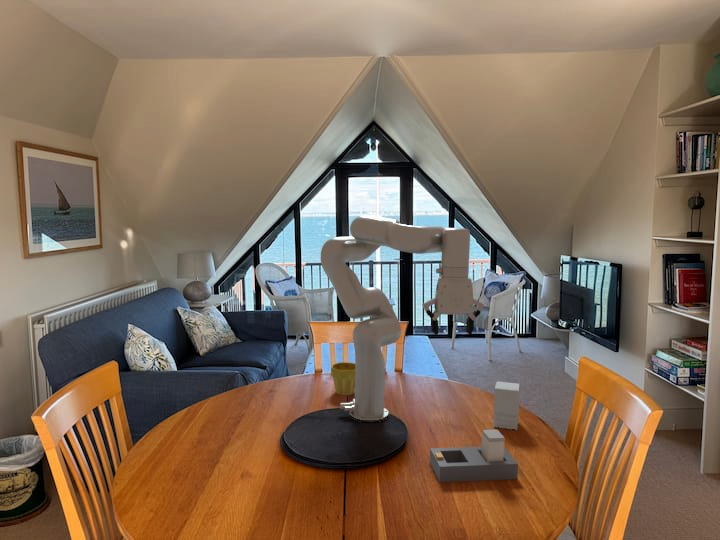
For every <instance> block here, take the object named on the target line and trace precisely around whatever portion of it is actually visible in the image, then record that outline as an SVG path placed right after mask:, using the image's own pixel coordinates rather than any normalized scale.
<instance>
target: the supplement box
mask: <svg viewBox="0 0 720 540" xmlns="http://www.w3.org/2000/svg"><path fill="white" fill-rule="evenodd" d="M493 397H494V401H493V402H494V403H493V428H498V427H499V429H505V428H506V430H512V429H515V430H514V431H518V428H519V427H518V426H519V414H520V413H519V411H520V383H516V382H515V383H514V382H505V381H496V383H495V386H494V395H493Z"/></svg>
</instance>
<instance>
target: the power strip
mask: <svg viewBox="0 0 720 540" xmlns="http://www.w3.org/2000/svg"><path fill="white" fill-rule="evenodd" d="M481 450H482V446H465V447H464V446H463V447H462V446H461V447H459V446H458V447H457V446H456V447H433V448H432V447H431V448H430V449H429V464H430V466H431V468H432V470H433V472H434V474H435V476H436V478H437V480H438V482H439V483H449V482H450V483H451V482H474V481H475V482H476V481H478V482H479V481H501V480H502V481H503V480H518V475H519V474H518V473H519V463H518V462H517V461H516V459H515V457H513V455H511V453H509V451H508V450H507V448H506V447H504V458H503V461H491V462H486V461H485V460H484V459H483V457H482V456H481Z"/></svg>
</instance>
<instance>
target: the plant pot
mask: <svg viewBox="0 0 720 540" xmlns="http://www.w3.org/2000/svg"><path fill="white" fill-rule="evenodd" d="M330 375H331V376H332V379H333V385H334V388H335V393H336V394H338V395H340V396H350V395H353V394H355V363H354V362H349V361H348V362H347V361H344V362H343V361H342V362H341V361H340V362H335V363H333V364H331V367H330Z"/></svg>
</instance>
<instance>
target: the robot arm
mask: <svg viewBox="0 0 720 540" xmlns="http://www.w3.org/2000/svg"><path fill="white" fill-rule="evenodd" d="M349 230H350V234H351V236H337V237H331V238H330V239H328V240H327V241H325V242H324V243H323V245H322V247H321V251H320V263H321V267H322V269H323V272H324V274H325V275H326V277H327V278H328V280H329V281H330V283H331V285H332V286H333V289H334V291H335V293H336V296H337V297H338V299H339V301H340V304H341V306H342V307H343V310H344V312H345V314H346V315H347V316H348V318H350V319H352V320H353V319H356V320H358V319H364V318H368V317H370V318H368V319H364V320H361V321H359V322H358V323H357V324H356V325H355V326H354V328H353V330H352V342H353V346H354V357H355V358H354V360H355V361H354V362H355V390H354V398H352V401H350V402H340V403H339V406H340V410H344V412H349V416H350V415H351V416H352V417H354V418H356V419H360V420H379V419H383V418H385V417H387V416H388V415H390V414H389V413H390V412H389V410H388V409H387V408H385V378H386V376H385V374H386V361H385V356H384V354H383V352H382V347H383V348H384V347H385V346H387V345H392V344H395V343H397V341H399V339H401V335H402V327H401V323H400V320H399V318H398V317H397V315H396V312H395V311H394V310H395V309H394V308H393V306H392V304H391V303H390V301H389V299H388V296H387V295H386V294H385V292H383V291H382V290H381V288H378V287H376V286H375V287H372V286H370V287H364V286H363V285H362V283H361V282H360V280H359V278H358V277H359V276H358V275H357V274H356V273H355V271H353V269H352V268H351V267H350V266H348V265H347V263H353V262H361V261H365V260H366V259H368V258H370V256H372V254H374V253H375V252H376V251H378V249H379V248H380V247H381V246H382V247H388V248H390V249H393V250H395V251H400V252H404V253H410V254H417V255H418V254H419V255H423V254H424V255H425V254H433V253H434V254H435V253H441V258H440V259H441V261H440V262H441V263H440V267H439V268H436V269H435V274H439V275H440V276H438V279H437V282H436V287H435V293H434V297H433V298H431V299H429V300H428V301H425V302H423V303H422V307H423V310H424V312H425V313H426V315H427V317H429V318H430V319H431V325H430V326H431V329H430V330H431V332H432V333H433V335H435V336H436V335H437V336H438V335H439V319H438V318H439V317H440V316H441V315H448V316H449V315H451V316H453V315H466V316H467V318H466V323H465V324H466V325H465V333H467V334H468V335H473V331H474V329H475V328H474V327H475V321H476V319H477V318H478V317H479V316H480V315H481V312H482V311H483V309H484V307H485V304H484V303H482V302H480V301H479V300H477V299H475V298H474V289H473V287H474V286H473V281H472V280H473V279H472V278H471V277H469V271H470V270H469V267H470V247H471V246H470V245H471V242H470V241H471V233H470V230H469V229H468V228H461V227H446V226H439V225H435V226H434V225H430V226H429V225H427V226H426V225H425V226H418V225H417V226H416V225H407V224H401V222H400V221H399V220H398V219H395V218H388V217H385V216H384V215H361V216H357V217H356V218H354V219H353V220H352V221H351V222H350V225H349ZM433 305H434V310H433V312H432V311H431V309H430V307H432V306H433ZM474 305H475V306H476V309H474ZM351 416H350V417H351ZM352 417H351V418H352ZM388 417H389V416H388Z"/></svg>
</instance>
